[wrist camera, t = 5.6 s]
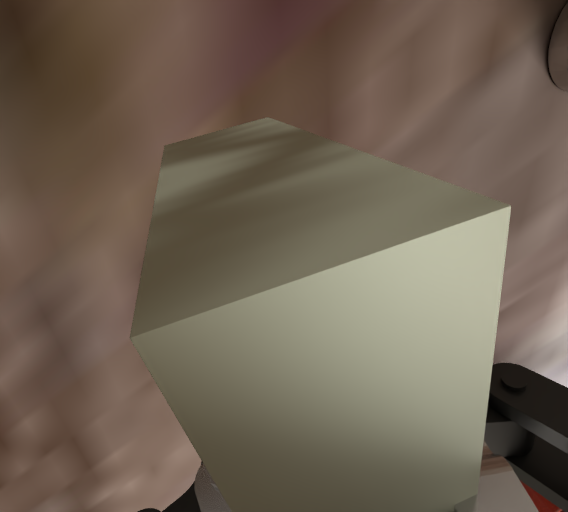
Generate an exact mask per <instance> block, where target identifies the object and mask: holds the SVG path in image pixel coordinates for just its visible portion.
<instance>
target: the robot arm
mask: <svg viewBox="0 0 568 512" xmlns="http://www.w3.org/2000/svg"><path fill="white" fill-rule="evenodd" d="M548 63H549V71H550V74H551V77H552V80H553V81H554V83H555V84H556V85H557V86H558V87H559V88H560V89H562V90H563V91H567V92H568V2H567V4H566V5H565V7H564V8H563V10H562V12H561V14H560V16H559V18H558V20H557V22H556V24H555V27H554V30H553V33H552V36H551V41H550V46H549V55H548ZM520 481H522V482H523V483H525V484H526V485H527V486H529V487H530V488H532V489H533V490H535V491H536V492H537V493H539V494H540V495H542V496H543V497H544V498H546V499H547V500H549V501H550V502H551V503H553V504H554V505H556V506H557V507H559V508H560V509H561V510H563V511H564V512H568V388H567V387H565V386H563V385H561V384H559V383H556V382H554V381H552V380H550V379H548V378H546V377H544V376H542V375H540V374H538V373H536V372H533V371H531V370H529V369H527V368H525V367H523V366H520V365H517V364H512V363H498V364H494V365H492V374H491V382H490V391H489V399H488V408H487V417H486V425H485V434H484V442H483V451H482V459H481V468H480V476H479V485H478V493H477V494H476V495H474V496H472V497H470V498H468V499H466V500H464V501H462V502H460V503H457V504H455V505H454V512H539V511H538V509H537V508H536V506H535V505H534V503H533V501H532V500H531V498H530V496H529V495H528V493H527V492H526V490H525V488H524V487H523V485H522V483H521V482H520ZM138 512H160V511H159V510H157V509H153V508H148V509H143V510H140V511H138ZM162 512H232V511H231V509H230V508H229V506H228V504H227V503H226V501H225V499H224V498H223V496H222V494H221V492H220V491H219V489H218V487H217V486H216V484H215V482H214V481H213V479H212V477H211V475H210V474H209V472H208V470H207V469H206V467H205V465H204V464H203V462H201V466H200V468H199V470H198V472H197V474H196V478H195V481H194V483H193V484H192V486H191V487H190V488H189V489H188V490H187V491H186V492H185V493H184V494H183V495H182V496H181V497H180V498H178V499H177V500H176V501H175V502H173V503H172V504H171V505H170V506H168V507H167V508H166V509H165V510H163V511H162Z"/></svg>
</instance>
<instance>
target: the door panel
mask: <svg viewBox="0 0 568 512" xmlns="http://www.w3.org/2000/svg"><path fill="white" fill-rule="evenodd" d="M510 212H511V205H508V204H505V203H503V202H500V201H497V200H494V199H492V198H489V197H486V196H483V195H481V194H478V193H475V192H472V191H470V190H467V189H464V188H461V187H459V186H456V185H453V184H450V183H448V182H445V181H442V180H439V179H437V178H434V177H431V176H428V175H426V174H423V173H420V172H417V171H415V170H412V169H409V168H406V167H404V166H401V165H398V164H395V163H393V162H390V161H387V160H384V159H382V158H379V157H376V156H373V155H371V154H368V153H365V152H362V151H360V150H357V149H354V148H351V147H349V146H346V145H343V144H340V143H338V142H335V141H332V140H329V139H327V138H324V137H321V136H318V135H316V134H313V133H310V132H307V131H305V130H302V129H299V128H296V127H294V126H291V125H288V124H285V123H283V122H280V121H277V120H274V119H272V118H269V117H267V118H263V119H260V120H256V121H252V122H249V123H245V124H242V125H238V126H234V127H231V128H227V129H223V130H220V131H216V132H212V133H209V134H205V135H202V136H198V137H194V138H191V139H187V140H183V141H180V142H176V143H172V144H169V145H165V146H164V152H163V157H162V163H161V168H160V174H159V179H158V185H157V190H156V196H155V201H154V207H153V212H152V218H151V223H150V229H149V234H148V240H147V245H146V251H145V256H144V262H143V267H142V273H141V278H140V284H139V289H138V295H137V300H136V306H135V311H134V317H133V323H132V328H131V334H130V339H131V341H132V343H133V345H134V346H135V348H136V350H137V351H138V353H139V355H140V356H141V358H142V360H143V362H144V363H145V365H146V367H147V368H148V370H149V372H150V373H151V375H152V377H153V379H154V380H155V382H156V384H157V385H158V387H159V389H160V390H161V392H162V394H163V396H164V397H165V399H166V401H167V402H168V404H169V406H170V407H171V409H172V411H173V413H174V414H175V416H176V418H177V419H178V421H179V423H180V424H181V426H182V428H183V430H184V431H185V433H186V435H187V436H188V438H189V440H190V441H191V443H192V445H193V447H194V448H195V450H196V452H197V453H198V455H199V457H200V458H201V460H202V462H203V464H204V465H205V467H206V469H207V470H208V472H209V474H210V475H211V477H212V479H213V481H214V482H215V484H216V486H217V487H218V489H219V491H220V492H221V494H222V496H223V498H224V499H225V501H226V503H227V504H228V506H229V508H230V509H231V511H232V512H454V505H455V504H457V503H460V502H462V501H464V500H466V499H468V498H470V497H472V496H474V495H476V494H477V493H478V485H479V476H480V468H481V459H482V451H483V442H484V434H485V425H486V417H487V408H488V399H489V391H490V382H491V374H492V365H493V357H494V348H495V340H496V331H497V323H498V314H499V306H500V297H501V288H502V280H503V271H504V263H505V254H506V246H507V237H508V229H509V220H510Z"/></svg>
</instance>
